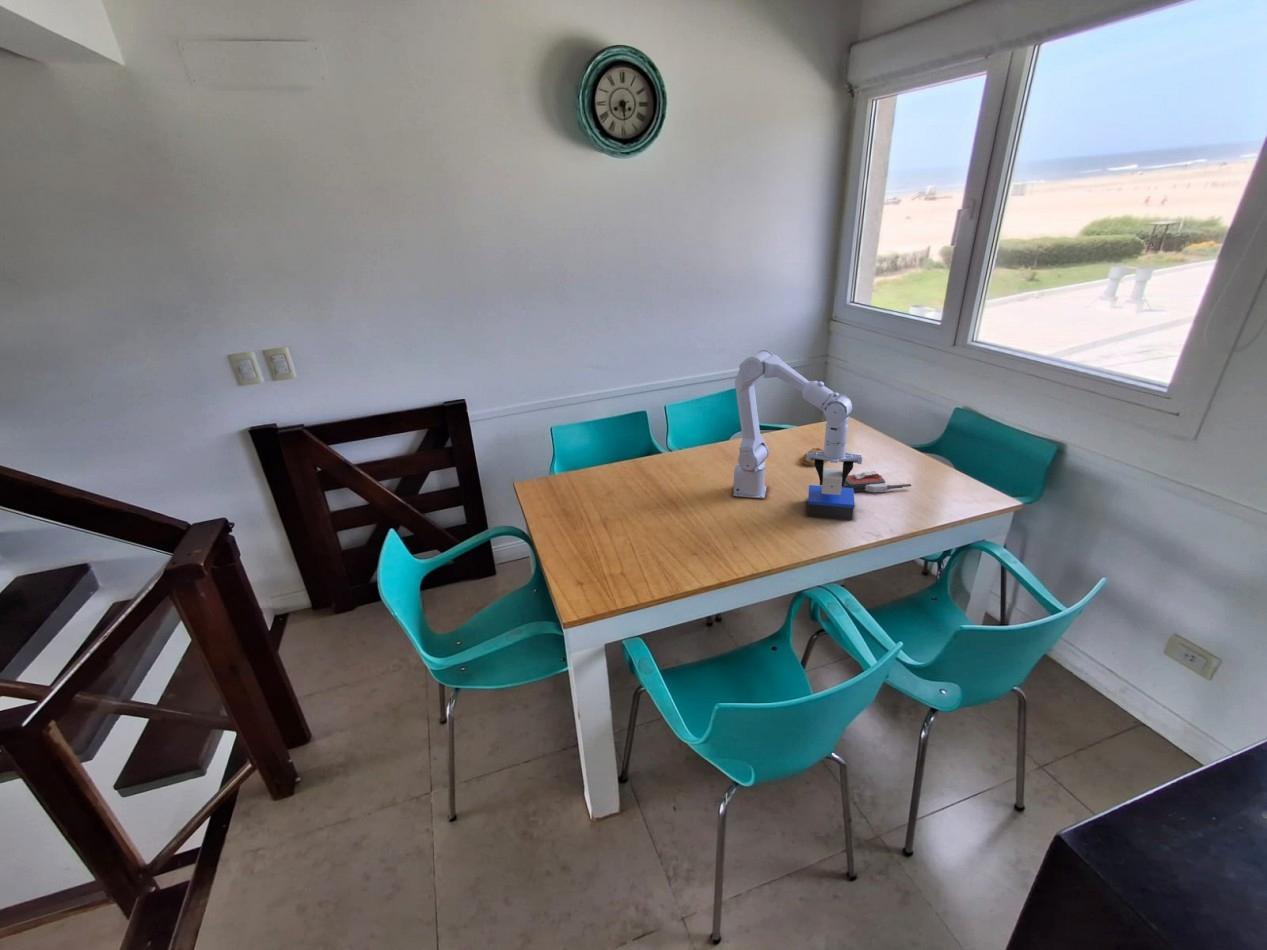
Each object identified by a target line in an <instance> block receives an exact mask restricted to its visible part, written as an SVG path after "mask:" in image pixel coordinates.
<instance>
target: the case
mask: <svg viewBox="0 0 1267 950" xmlns="http://www.w3.org/2000/svg"><path fill="white" fill-rule="evenodd" d="M842 470H843V468H840V467H839V468H837V467H825V466H824V467H823V482H822V485H821V486H822V494H834V495H841V486H842Z"/></svg>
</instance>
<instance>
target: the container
mask: <svg viewBox="0 0 1267 950" xmlns="http://www.w3.org/2000/svg"><path fill="white" fill-rule="evenodd" d="M807 495H808V496H807V517H814V518H825V519H834V520H835V519H837V520H847V521H853V516H854V509H855V506H856V504H855V503H856V502H855V492H854V490H853V488H844V486H843V487H841V495H834V494H822V485H815V484H809V485H808V494H807Z"/></svg>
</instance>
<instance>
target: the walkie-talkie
mask: <svg viewBox="0 0 1267 950" xmlns="http://www.w3.org/2000/svg"><path fill="white" fill-rule="evenodd" d="M907 487H912V484H911V483H903V484H892V485H890V484H886V480H885V479H884V478H883V476H882V475H880V474H879V473H877V472H876V471H874V470H873V471H863V472H862V473H860V474H856V473H853V474H848V476H847V478H846V480H845V482H844V485H843V488H853V490H854V493H855V492H870V493H872V494H873V493H886V492H888V490H891V489H892V490H893V489H903V488H907Z"/></svg>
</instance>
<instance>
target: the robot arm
mask: <svg viewBox="0 0 1267 950" xmlns="http://www.w3.org/2000/svg"><path fill="white" fill-rule="evenodd" d="M762 376H763V379H770V378H778V379H779V380H781V381H782V382H784V383H786V384H787V385H789V386H791V387H793V388H794V389H796V390H798V391H800V392H801V395H802V398H803V399H804V400H805V401H806V402H808V403H810V404H811V405H812V406H814V407H816V408H817V409H818V410H820V411H821V412H823V414H824V417H825V418H826V423H825V431H824V445H823V450H824V451H820V452H808V451H806V453H807V460H806V461H811V460H815V462H814V465H813V466H814V468H815V470H816V473H817V475H818V479H819V486H822V482H823V467H824V468H825V466H824V464H825V462H829V463H833V464H838V463H842V486H841V487H843V488H844V486H843V485H844V482H845V480H846V478H847V476H848V475H850V473H851V472H852V471H853V468H854V464H858V465H862V464H863V455H862V454H855V453H851V452H846V450H847V442H848V432H849V418H850V415H849V414H851V412H852V410H853V408H854V407H853V402H852V400H851V399H850V398H849V397H848V395H845V394H840V393H839V392H837V391H836V392H834V391H833V390H831V389H830V388H828V387H827V386H825V383H824V382H823V381H818V380H810V381H809V380H808V379H807V378H805V376H803V375H802V374H801V373H799V372H797V371H796V370H795V369H794V368H792V367H791V366H790V365H788V364H787V363H786V362H784V361H783V360H782V359H781V358H780V357H779V356H778V355H776V354H774V353H773V352H772V351H770V350H767V349H761V350H759V351H758V352H757V353H755V354H753V355H751V356H749V357H747V358H746V359H744V360H743V361H742V362H741V363H740V364H739V369H738V372H737V375H736V377H735V380H734V387H735V394H736V403H737V409H738V415H739V423H740V431H741V437H742V438H741V442H740V445H739V448H738V449H739V454H738V457H737V462H738V464H735V466H734V471H733V473H734V474H733V496H734V497H737V498H739V497H740V498H753V499H762V500H763V499H765V498H766V493H767V485H765V482H766V459H768V457H769V455H770V450H769V447H768V446H767V445H766V440H765V437H764V436H762V435H761V429H760V428H761V427H760V421H759V414H758V405H757V404H758V403H757V397H756V389H755V384H756V383H758V381H759V380H760V378H761V377H762Z"/></svg>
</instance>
